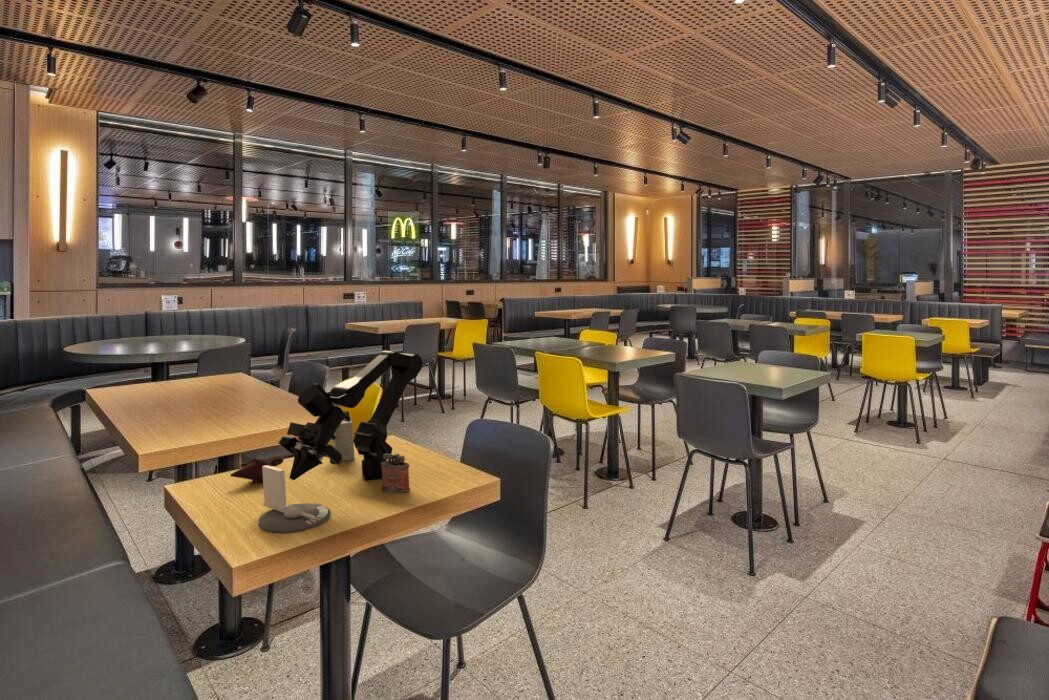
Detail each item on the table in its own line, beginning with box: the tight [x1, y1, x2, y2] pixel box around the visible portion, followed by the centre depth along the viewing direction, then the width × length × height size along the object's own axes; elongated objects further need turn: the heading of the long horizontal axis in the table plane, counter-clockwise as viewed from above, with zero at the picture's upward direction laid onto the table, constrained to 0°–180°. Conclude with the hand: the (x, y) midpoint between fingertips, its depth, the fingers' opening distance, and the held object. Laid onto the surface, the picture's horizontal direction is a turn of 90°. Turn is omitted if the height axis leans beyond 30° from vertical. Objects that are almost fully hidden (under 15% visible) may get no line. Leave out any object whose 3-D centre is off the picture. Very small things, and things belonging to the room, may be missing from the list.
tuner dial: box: [258, 502, 331, 534], centre depth 147 cm, size 16×16×1 cm
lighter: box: [381, 453, 411, 494], centre depth 165 cm, size 8×3×10 cm, turn 71°
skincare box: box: [331, 418, 356, 462], centre depth 193 cm, size 6×4×12 cm
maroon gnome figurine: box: [230, 456, 284, 484], centre depth 173 cm, size 7×7×15 cm
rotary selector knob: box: [262, 465, 315, 519], centre depth 147 cm, size 18×5×10 cm, turn 57°
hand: (291, 479), depth 153 cm, fingers closed
